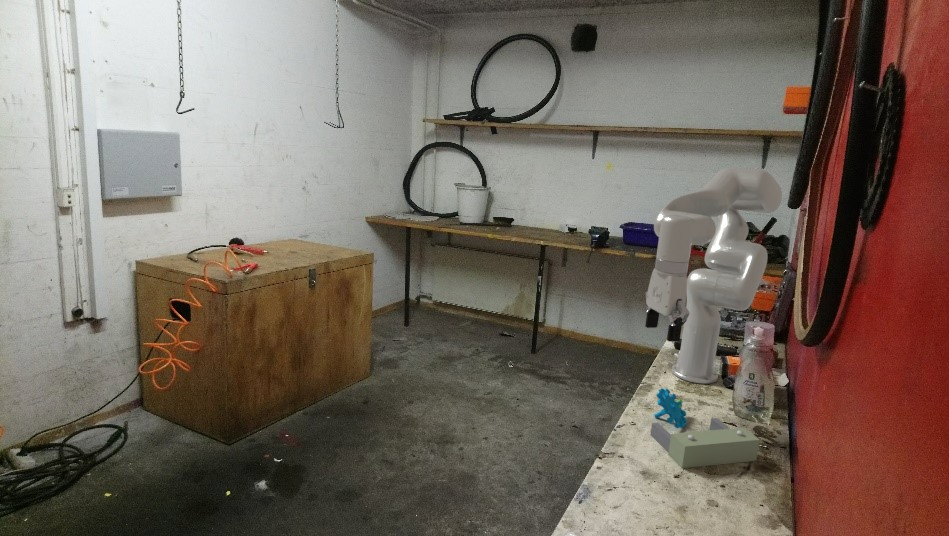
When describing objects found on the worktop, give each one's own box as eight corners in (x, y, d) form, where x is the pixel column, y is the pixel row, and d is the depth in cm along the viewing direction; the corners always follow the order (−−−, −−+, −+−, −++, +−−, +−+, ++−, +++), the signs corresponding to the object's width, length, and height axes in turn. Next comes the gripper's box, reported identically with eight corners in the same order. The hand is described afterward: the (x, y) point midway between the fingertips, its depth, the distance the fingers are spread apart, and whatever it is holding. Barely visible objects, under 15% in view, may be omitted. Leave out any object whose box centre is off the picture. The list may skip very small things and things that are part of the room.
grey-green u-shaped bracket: (648, 435, 126) (651, 412, 124) (716, 429, 130) (720, 407, 129) (681, 468, 113) (685, 443, 112) (755, 460, 118) (760, 437, 116)
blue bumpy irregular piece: (678, 430, 125) (655, 390, 129) (657, 440, 128) (635, 401, 132) (696, 420, 133) (674, 383, 137) (676, 430, 137) (655, 393, 140)
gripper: (638, 258, 140) (630, 322, 143) (678, 275, 123) (668, 347, 127) (665, 259, 141) (656, 322, 145) (707, 275, 125) (696, 346, 129)
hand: (661, 333), depth 136 cm, fingers open, 9 cm apart
